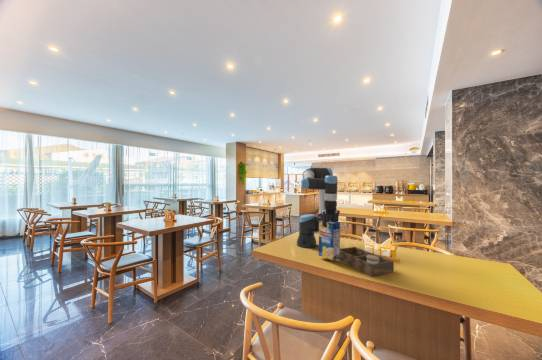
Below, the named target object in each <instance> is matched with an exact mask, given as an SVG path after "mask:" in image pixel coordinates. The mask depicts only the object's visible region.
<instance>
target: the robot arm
mask: <svg viewBox="0 0 542 360" xmlns="http://www.w3.org/2000/svg"><path fill="white" fill-rule="evenodd" d="M338 181H339V180H338V176H337V175H334V173H333V170H332V168H330V167H309V168H307V169H305V170H304V171H303V172H302V177H301V186H300V188H301V189H302V190H318V209H319V211H318V213H317V216H316V215H315V213H313V214H311V213H307V214H301V215H300V217H299V221H298V222H299V227H298V236H297V240H296V245H297V246H298V247H300V248H305V249H307V248H309V249H310V248H311V249H312V248H315V247H317V246H318V245H317V244H318V243H317V240H316V236H315V232H316V233H319V221H321V220H322V226H323V227H326V228H327V226H326V222H329V221H332V222H335V221H336V222H339V218H340V217H339V216H340V213H341V211H340V210H338V209H337V206H338V201H337V200H338Z"/></svg>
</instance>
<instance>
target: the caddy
mask: <svg viewBox="0 0 542 360" xmlns="http://www.w3.org/2000/svg"><path fill="white" fill-rule="evenodd" d="M367 255H374V256H377V257H379V263H377V264H371V263H368V262H367V258H366V256H367ZM336 260H338V261H340V262H341V263H344V264H346V265H347V266H350V267H352V268H354V269H356V270H358V271H360V272H361V273H364V274H366V275H368V276H370V277H372V278H373V277H378V276H383V275H386V274H392V273H394V267H395V265H394V263H395V261H394V260H392V259H388V258H387V257H383V256H381V255H378V254H376V253H373V252H370V251H367V250H366V249H365V250H364V249H361V248H359V247H357V246H350V247H344V248H340V258H338V259H336Z"/></svg>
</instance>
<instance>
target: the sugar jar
mask: <svg viewBox="0 0 542 360" xmlns="http://www.w3.org/2000/svg"><path fill="white" fill-rule="evenodd" d="M366 258H367V262H368V263H371V264H377V263H379V257H377V256H374V255H367V256H366Z"/></svg>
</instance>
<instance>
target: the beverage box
mask: <svg viewBox="0 0 542 360" xmlns="http://www.w3.org/2000/svg"><path fill="white" fill-rule="evenodd" d="M326 226H327V228H326V227H323V226H322V220H321V221H319V232H318V256H320V257H322V258H325V259H328V260H330V261H335V260H337V259H338V258H340V249H341V222H339V221H338V222H336V221H335V222H332V221H329V222H326Z"/></svg>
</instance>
